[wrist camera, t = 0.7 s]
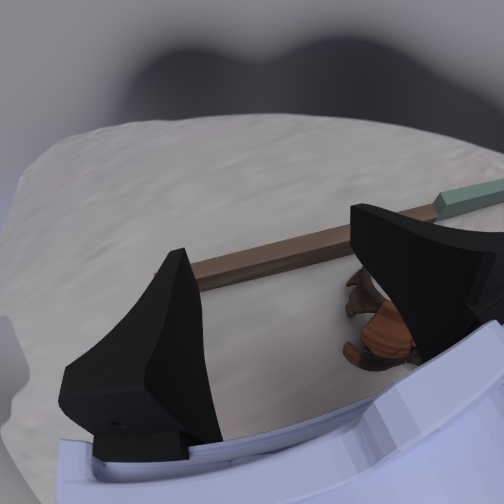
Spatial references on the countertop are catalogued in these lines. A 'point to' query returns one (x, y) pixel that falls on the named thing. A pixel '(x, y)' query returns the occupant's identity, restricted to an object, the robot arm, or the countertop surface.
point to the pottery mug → (378, 329)
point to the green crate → (468, 199)
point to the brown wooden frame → (285, 254)
